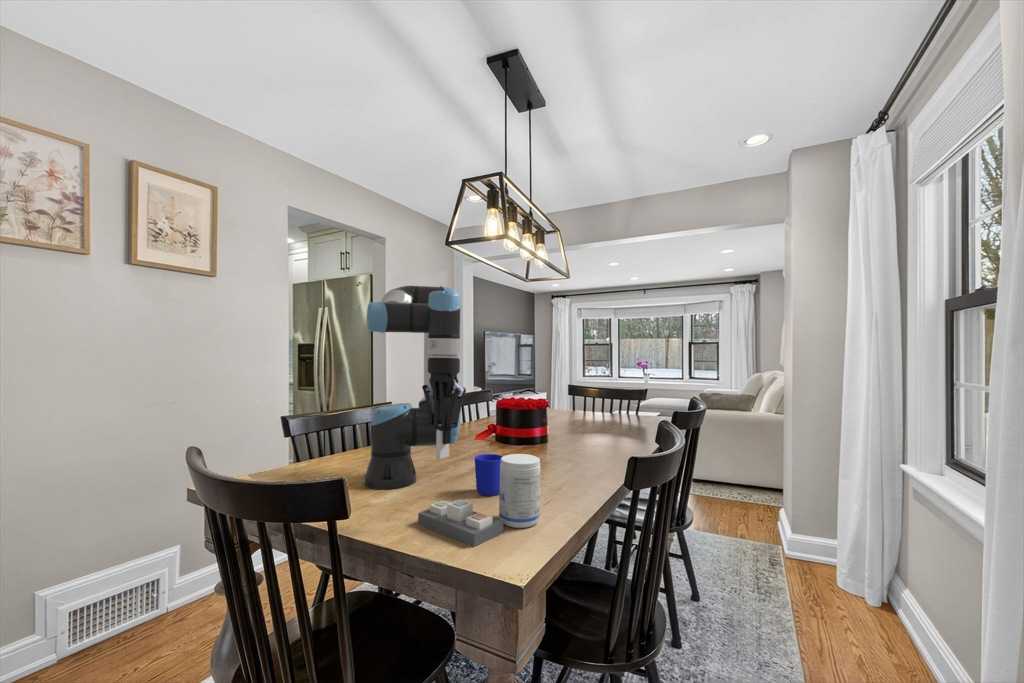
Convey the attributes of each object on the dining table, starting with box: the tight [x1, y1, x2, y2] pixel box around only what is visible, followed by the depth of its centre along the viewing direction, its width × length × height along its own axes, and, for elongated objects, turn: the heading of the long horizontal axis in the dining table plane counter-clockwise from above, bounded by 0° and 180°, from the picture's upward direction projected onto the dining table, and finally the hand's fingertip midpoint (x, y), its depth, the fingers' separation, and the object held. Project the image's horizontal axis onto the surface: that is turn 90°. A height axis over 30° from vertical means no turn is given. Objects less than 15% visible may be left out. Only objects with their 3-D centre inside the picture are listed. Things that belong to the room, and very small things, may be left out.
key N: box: [429, 500, 451, 516], centre depth 100 cm, size 4×4×3 cm
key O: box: [466, 512, 493, 530], centre depth 93 cm, size 4×4×3 cm
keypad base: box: [417, 508, 504, 547], centre depth 97 cm, size 18×9×2 cm, turn 51°
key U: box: [447, 499, 474, 523], centre depth 97 cm, size 4×4×3 cm
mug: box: [474, 453, 504, 497], centre depth 121 cm, size 8×12×10 cm
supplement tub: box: [498, 453, 541, 529], centre depth 101 cm, size 10×10×15 cm
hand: (442, 457), depth 101 cm, fingers closed
